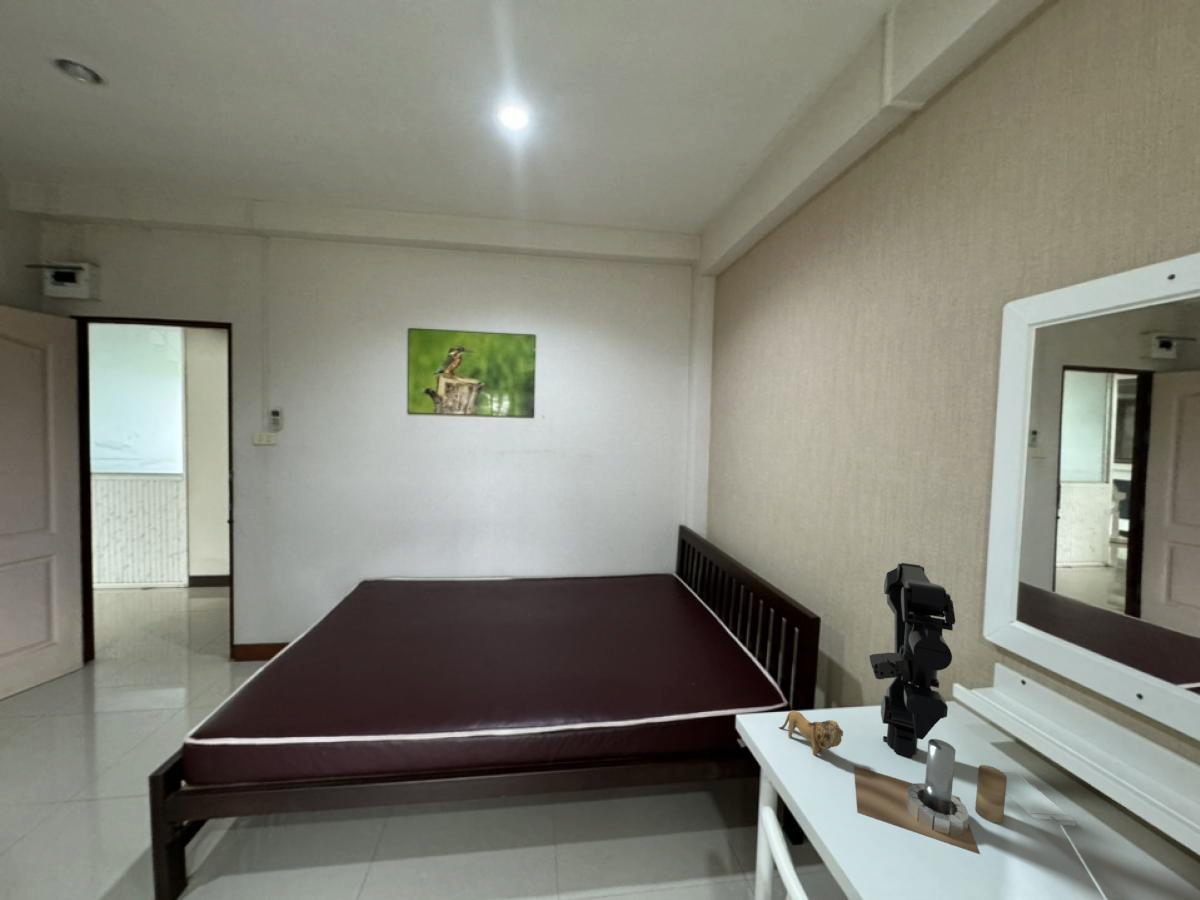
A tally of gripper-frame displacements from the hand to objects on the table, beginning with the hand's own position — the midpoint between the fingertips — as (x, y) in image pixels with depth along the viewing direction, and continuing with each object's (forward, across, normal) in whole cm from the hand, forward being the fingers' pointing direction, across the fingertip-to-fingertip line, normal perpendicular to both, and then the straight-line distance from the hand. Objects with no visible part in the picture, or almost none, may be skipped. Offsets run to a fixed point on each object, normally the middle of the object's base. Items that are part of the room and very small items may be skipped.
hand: (915, 725), depth 95 cm
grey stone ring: (+12, +7, +3) cm, 14 cm away
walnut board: (+13, +6, -1) cm, 15 cm away
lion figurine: (+13, -3, -18) cm, 23 cm away
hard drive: (+14, -8, +20) cm, 26 cm away
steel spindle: (+12, +7, +3) cm, 14 cm away
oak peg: (+13, +2, +12) cm, 18 cm away
